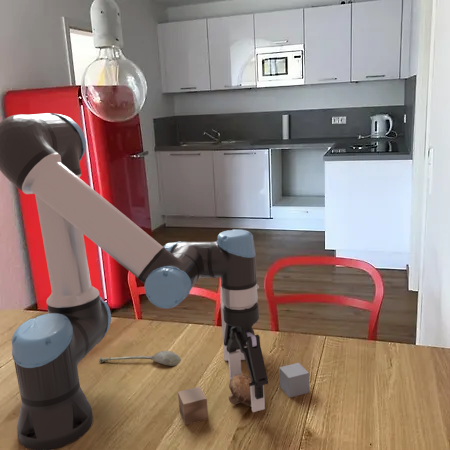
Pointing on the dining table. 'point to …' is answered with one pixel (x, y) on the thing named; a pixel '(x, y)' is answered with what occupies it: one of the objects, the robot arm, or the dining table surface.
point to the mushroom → (240, 390)
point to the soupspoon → (153, 358)
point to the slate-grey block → (294, 380)
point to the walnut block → (193, 405)
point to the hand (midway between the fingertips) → (246, 393)
